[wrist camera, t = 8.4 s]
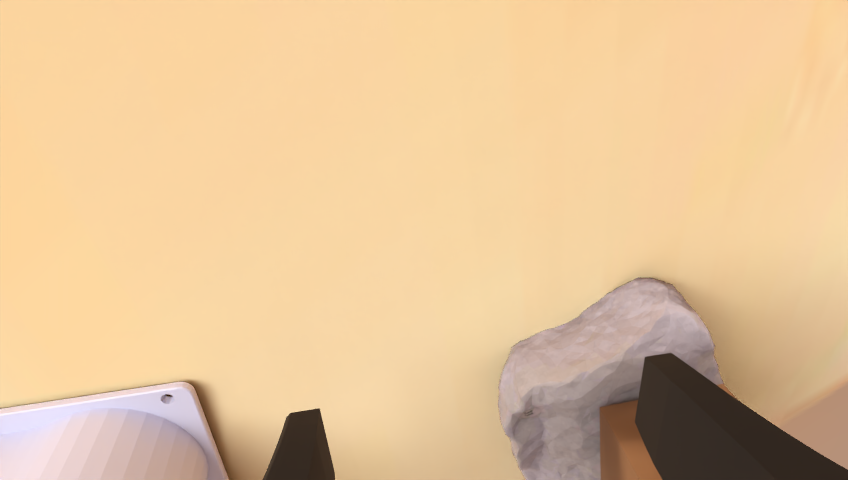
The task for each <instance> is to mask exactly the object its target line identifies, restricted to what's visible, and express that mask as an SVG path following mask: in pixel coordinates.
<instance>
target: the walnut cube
mask: <svg viewBox="0 0 848 480" xmlns="http://www.w3.org/2000/svg"><path fill="white" fill-rule="evenodd" d="M717 386H719V387H720V388H721V389H723V390H724V391H726V392H727V393H728V394H730V395H731V396H733V394H732V393H731V392H730V391H729V390H728V389H727V388H726V387H725V385H724V384H719V385H717ZM733 397H734V396H733ZM734 398H735V397H734ZM735 399H736V398H735ZM637 404H638V400H635V401H630V402H625V403H619V404H614V405H609V406H604V407H600V469H601V480H662V478H661V476H660V475H659V473H658V471H657V469H656V468H655V466H654V464H653V462H652V460H651V458H650V455H649V453H648V451H647V449H646V447H645V445H644V442H643V440H642V438H641V435H640V433H639V431H638V428H637V426H636V424H635V417H636V410H637Z"/></svg>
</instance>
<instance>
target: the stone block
mask: <svg viewBox="0 0 848 480" xmlns="http://www.w3.org/2000/svg"><path fill="white" fill-rule="evenodd" d="M714 347H715V345H714V343H713V341H712V338H711V335H710V333H709V331H708V329H707V327H706V326H705V324H704V323H703V321H702V320H701V318H700V317H699V316H698V314H697V313H696V312H695V311H694V310H693V309H692V307H691V306H690V305H689V304H688V303H686V301H685V299H684V298H683V296H682V295H681V294H680V293H679V292H677V290H676V289H675V287H674V286H673V285H672V284H668V283H666V282H664V281H660V280H656V279H653V278H636V279H634V280H633V281H630V282H628V283H626V284H624V285H623V286H620V287H618V288H616V289H615V290H614V291H612V292H611V293H607V294H606V295H605V296H604V297H603V298H602V299H601V300H599V301H598V302H596V303H595V304H593V305H591V306H590V307H589V308H587V309H586V310H585V311H583V312H582V313H581V315H580V316H579V317H577V318H575V319H574V320H572V321H570V322H568V323H566V324H563V325H560V326H558V327H555V328H551V329H547V330H544V331H541V332H539V333H537V334H535V335H533V336H531V337H530V338H527V339H525V340H523V341H520V342H519V343H517V344H516V345H514V346H513V347H512V348H511V351H510V354H509V357H508V359H507V361H506V363H505V366H504V368H503V371H502V374H501V378H500V382H499V400H498V407H499V412H500V420H501V424H502V426H503V429H504V431H505V433H506V435H507V436H508V437H509V438H510V441H511V444H512V452H513V455H514V456H515V458H516V461H517V463H518V467H519V469H520V471H522V474H523V476H524V477H525V479H526V480H601V469H600V407H604V406H609V405H614V404H619V403H625V402H630V401H635V400H638V398H639V391H640V385H641V378H642V372H643V366H644V359H645V357H647V356H653V355H660V354H666V353H672V354H674V355H675V356H677V357H678V358H680V359H681V360H682V361H684V362H685V363H687V364H688V365H689V366H691V367H692V368H694V369H695V370H696V371H698V372H699V373H701V374H702V375H703V376H705V377H706V378H707V379H709V380H710V381H712V382H713V383H714V384H716V385H719V384H724V383H723V381H722V378H721V376H720V373H719V370H718V364H717V362H716V360H715V358H714Z"/></svg>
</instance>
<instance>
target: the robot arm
mask: <svg viewBox="0 0 848 480" xmlns="http://www.w3.org/2000/svg"><path fill="white" fill-rule="evenodd" d="M165 394H169V395H172V396H173V397H168V396H166V395H165ZM635 424H636V426H637V428H638V431H639V433H640V435H641V438H642V440H643V442H644V445H645V447H646V449H647V451H648V453H649V455H650V458H651V460H652V462H653V464H654V466H655V468H656V469H657V471H658V473H659V475H660V476H661V478H662V480H848V470H847V469H845V468H844V467H842V466H840V465H838V464H836V463H835V462H833V461H831V460H830V459H828V458H826V457H824V456H823V455H821V454H819V453H818V452H816V451H814V450H813V449H811V448H810V447H808V446H806V445H805V444H803V443H802V442H800V441H798V440H797V439H795V438H794V437H792V436H790V435H789V434H787V433H786V432H784V431H783V430H781V429H780V428H778V427H776V426H775V425H773V424H772V423H770V422H769V421H767V420H766V419H764V418H763V417H761V416H760V415H758V414H757V413H756V412H754V411H753V410H751V409H750V408H748V407H747V406H745V405H744V404H743V403H741V402H740V401H738V400H737V399H735V398H734V397H733V396H731V395H730V394H728V393H727V392H726V391H724V390H723V389H721V388H720V387H719V386H717V385H716V384H714V383H713V382H712V381H710V380H709V379H707V378H706V377H705V376H703V375H702V374H701V373H699V372H698V371H696V370H695V369H694V368H692V367H691V366H689V365H688V364H687V363H685V362H684V361H682V360H681V359H680V358H678V357H677V356H675V355H674V354H672V353H666V354H660V355H653V356H647V357H645V359H644V366H643V372H642V378H641V385H640V391H639V398H638V404H637V410H636V417H635ZM0 480H229V478H228V476H227V473H226V470H225V468H224V465H223V462H222V460H221V457H220V455H219V452H218V449H217V447H216V444H215V441H214V439H213V436H212V433H211V431H210V428H209V425H208V423H207V420H206V418H205V415H204V412H203V410H202V407H201V404H200V402H199V399H198V396H197V394H196V391H195V389H194V387H193V386H192V385H191V384H189V383H186V382H175V383H168V384H161V385H155V386H148V387H142V388H135V389H128V390H122V391H115V392H109V393H102V394H95V395H89V396H82V397H76V398H69V399H62V400H56V401H49V402H43V403H36V404H29V405H23V406H16V407H10V408H3V409H0ZM263 480H335V473H334V468H333V464H332V460H331V455H330V451H329V447H328V443H327V438H326V434H325V430H324V425H323V421H322V417H321V413H320V408H319V409H313V410H307V411H300V412H294V413H290V414H289V415H288V416H287V418H286V420H285V423H284V427H283V430H282V433H281V435H280V438H279V441H278V444H277V446H276V449H275V452H274V454H273V457H272V459H271V461H270V464H269V466H268V469H267V471H266V474H265V476H264V478H263Z"/></svg>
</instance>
